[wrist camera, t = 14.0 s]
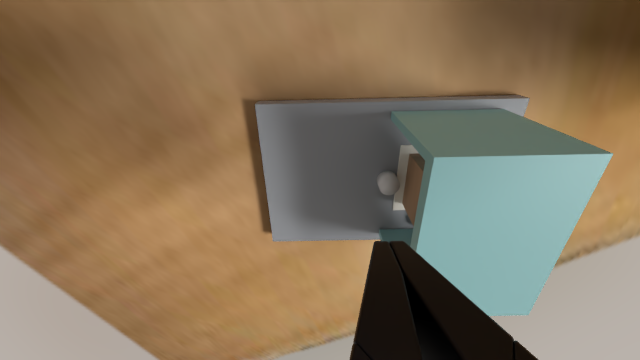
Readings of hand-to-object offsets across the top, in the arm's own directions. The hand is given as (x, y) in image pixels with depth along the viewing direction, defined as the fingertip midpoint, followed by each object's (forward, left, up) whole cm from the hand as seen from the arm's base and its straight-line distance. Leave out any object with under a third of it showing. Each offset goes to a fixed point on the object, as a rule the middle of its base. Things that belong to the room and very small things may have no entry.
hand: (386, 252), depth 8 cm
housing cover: (-6, +4, -11) cm, 13 cm away
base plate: (-3, +4, -12) cm, 13 cm away
